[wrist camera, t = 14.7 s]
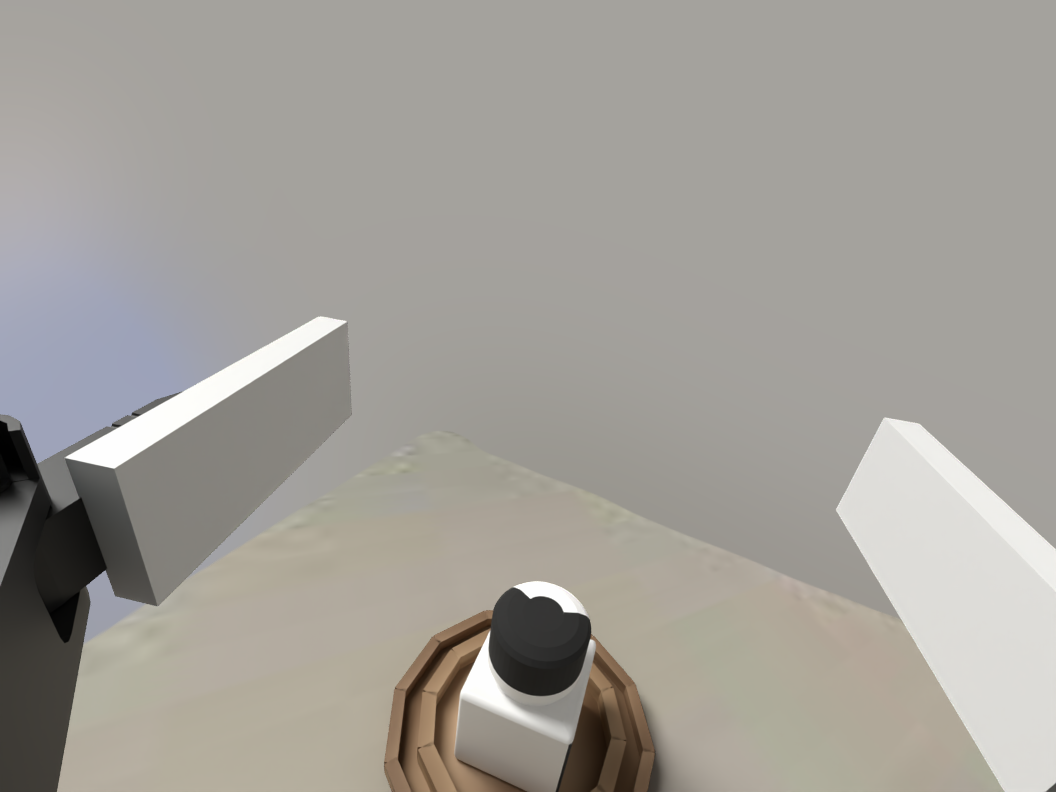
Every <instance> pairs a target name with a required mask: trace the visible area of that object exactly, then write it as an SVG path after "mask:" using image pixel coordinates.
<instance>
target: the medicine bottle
mask: <svg viewBox="0 0 1056 792" xmlns="http://www.w3.org/2000/svg"><path fill="white" fill-rule="evenodd" d="M590 638H591V624H590V619H589V617H588V614H587V612H586V610H585V608H584V607H583V605H582V604H581V603H580V602H579V601H578V600H577V598H576V597H574V596H573V595H572V594H571V593H570V592H568V591H567V590H565V589H563V588H561V587H559V586H557V585H554V584H551V583H547V582H527V583H523V584H520V585H517V586H515V587H513V588H511V589H509V590H508V591H506V592H505V593H504V594H503V595H502V596H501V597H500V598H499V600H498V601H497V603H496V605H495V607H494V610H493V615H492V622H491V629H490V632H489V634H488V636H487V638H486V640H485V642H484V644H483V646H482V648H481V650H480V652H479V655H478V657H477V659H476V661H475V663H474V665H473V667H472V669H471V671H470V673H469V675H468V677H467V680H466V682H465V684H464V686H463V688H462V690H461V692H460V700H459V710H458V720H457V730H456V740H455V750H454V754H455V757H456V758H457V759H458V760H460V761H463V762H465V763H467V764H469V765H471V766H473V767H475V768H478V769H480V770H482V771H484V772H486V773H488V774H490V775H493V776H495V777H497V778H499V779H501V780H503V781H506V782H508V783H510V784H512V785H514V786H516V787H518V788H521V789H523V790H525V791H527V792H559V788H560V785H561V781H562V778H563V775H564V771H565V768H566V764H567V761H568V757H569V754H570V750H571V747H572V744H573V740H574V736H575V732H576V728H577V724H578V720H579V716H580V712H581V707H582V703H583V699H584V695H585V691H586V687H587V683H588V679H589V675H590V671H591V667H592V663H593V658H594V654H595V650H596V643H595V641H593V640H591V639H590Z"/></svg>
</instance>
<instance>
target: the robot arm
mask: <svg viewBox="0 0 1056 792" xmlns="http://www.w3.org/2000/svg"><path fill="white" fill-rule="evenodd" d="M347 324H348V323H347V321H342V320H337V319H331V318H326V317H320V316H319V317H317V318H315V319H314V320H312V321H310V322H308V323H306V324H304V325H303V326H301V327H299V328H297V329H295V330H294V331H292V332H290V333H288V334H287V335H285V336H283V337H281V338H279V339H277V340H276V341H274V342H272V343H270V344H269V345H267V346H265V347H263V348H261V349H260V350H258V351H256V352H254V353H252V354H251V355H249V356H247V357H245V358H243V359H241V360H240V361H238V362H236V363H234V364H233V365H231V366H229V367H227V368H225V369H223V370H222V371H220V372H218V373H216V374H214V375H213V376H211V377H209V378H207V379H205V380H204V381H202V382H200V383H198V384H197V385H195V386H193V387H191V388H189V389H187V390H186V391H183V392H179V393H176V394H173V395H170V396H167V397H163V398H160V399H157V400H155V401H153V402H151V403H149V404H148V405H146V406H144V407H142V408H140V409H138V410H136V411H134V412H133V413H132V415H131V416H128V415H127V416H125V417H123V418H121V419H120V420H118V421H116V422H114V423H113V424H112V426H111V427H105V428H103V429H101V430H99V431H97V432H96V433H94V434H92V435H90V436H88V437H86V438H84V439H83V440H81V441H79V442H77V443H75V444H73V445H71V446H70V447H68V448H66V449H64V450H63V451H60V452H58V453H57V454H55V455H53V456H51V457H50V458H47V459H45V460H44V461H42V462H40V463H38V464H37V463H36V460H35V458H34V456H33V453H32V451H31V448H30V445H29V443H28V440H27V438H26V436H25V433H24V430H23V428H22V425H21V423H20V421H18V420H17V419H14V418H13V417H11V416H8V415H0V792H57V788H58V782H59V776H60V771H61V765H62V760H63V754H64V748H65V743H66V737H67V732H68V726H69V720H70V715H71V709H72V703H73V698H74V692H75V687H76V681H77V675H78V670H79V664H80V659H81V653H82V647H83V642H84V636H85V630H86V625H87V619H88V614H89V608H90V598H89V592H88V590H87V587H86V585H87V584H89V583H90V582H91V581H92V580H94V579H95V578H96V577H97V576H98V575H100V574H101V573H102V572H103V571H105V570H106V572H107V575H108V578H109V580H110V583H111V585H112V589H113V591H114V594H115V596H117V597H121V598H126V599H130V600H134V601H138V602H142V603H146V604H150V605H154V606H159V605H160V604H161V603H162V602H163V601H164V600H165V599H166V598H167V597H168V596H169V595H170V594H171V593H172V592H173V591H174V590H175V589H176V588H177V587H178V586H179V585H180V584H181V583H182V582H183V581H184V580H185V579H186V578H187V577H188V576H189V575H190V574H191V573H192V572H193V571H194V570H195V569H196V568H197V567H198V566H199V565H200V564H201V563H202V562H203V561H204V560H205V559H206V558H207V557H208V556H209V555H210V554H211V553H212V552H213V551H214V550H215V549H216V548H217V547H218V546H219V545H220V544H221V543H222V542H223V541H224V540H225V539H226V538H227V537H228V536H229V535H230V534H231V533H232V532H233V531H234V530H236V529H237V527H239V526H240V524H242V523H243V522H244V521H245V520H246V519H247V518H248V516H250V515H251V514H252V513H253V512H254V511H255V509H257V508H258V507H259V506H260V505H261V504H262V503H263V502H264V501H265V500H266V499H267V498H268V497H269V496H270V495H271V494H272V493H273V492H274V491H275V490H276V489H277V488H278V487H279V486H280V485H281V484H282V483H283V482H284V481H285V480H286V479H287V478H288V477H289V476H290V475H291V474H292V473H293V472H294V471H295V470H296V469H297V468H298V467H299V466H300V465H301V464H302V463H303V462H304V461H305V460H306V459H307V458H308V457H309V456H310V455H311V454H312V453H313V452H314V451H315V450H316V449H317V448H319V446H321V445H322V443H324V442H325V441H326V440H327V439H328V438H329V436H331V434H332V433H334V431H336V429H338V428H339V427H340V426H341V425H342V424H343V423H344V422H345V421H346V420H347V419H348V418H349V417H350V416H351V415H352V411H351V389H350V366H349V346H348V325H347ZM836 511H837V512H838V514H839V516H840V518H841V519H842V521H843V523H844V524H845V526H846V528H847V529H848V531H849V532H850V534H851V536H852V538H853V539H854V541H855V543H856V544H857V546H858V547H859V549H860V551H861V553H862V554H863V556H864V557H865V559H866V561H867V563H868V564H869V566H870V568H871V569H872V571H873V573H874V574H875V576H876V578H877V579H878V581H879V583H880V584H881V586H882V588H883V589H884V591H885V593H886V594H887V596H888V597H889V599H890V601H891V603H892V604H893V606H894V608H895V609H896V611H897V613H898V614H899V616H900V618H901V619H902V621H903V623H904V625H905V626H906V628H907V630H908V631H909V633H910V635H911V636H912V638H913V640H914V641H915V643H916V645H917V646H918V648H919V650H920V651H921V653H922V655H923V656H924V658H925V660H926V661H927V663H928V665H929V666H930V668H931V670H932V671H933V673H934V675H935V676H936V678H937V680H938V681H939V683H940V685H941V686H942V688H943V690H944V691H945V693H946V695H947V696H948V698H949V700H950V701H951V703H952V705H953V706H954V708H955V710H956V711H957V713H958V715H959V716H960V718H961V720H962V721H963V723H964V725H965V726H966V728H967V730H968V731H969V733H970V735H971V737H972V738H973V740H974V742H975V743H976V745H977V747H978V748H979V750H980V752H981V753H982V755H983V757H984V758H985V760H986V762H987V763H988V765H989V767H990V768H991V770H992V772H993V773H994V775H995V777H996V778H997V780H998V782H999V783H1000V785H1001V787H1002V788H1003V790H1004V792H1056V549H1055V548H1054V547H1053V546H1051V545H1050V544H1049V543H1048V542H1047V541H1046V540H1045V539H1044V538H1043V537H1042V536H1041V535H1039V534H1038V533H1037V532H1036V531H1035V530H1034V529H1033V528H1032V527H1031V526H1029V524H1028V523H1027V522H1025V521H1024V520H1023V519H1022V518H1021V517H1020V516H1019V515H1018V514H1017V513H1016V512H1014V511H1013V510H1012V509H1011V508H1010V507H1009V506H1008V505H1007V504H1006V503H1005V502H1004V501H1003V500H1001V499H1000V498H999V497H998V496H997V495H996V494H995V493H994V492H993V491H992V490H991V489H990V488H988V487H987V486H986V485H985V484H984V483H983V482H982V481H981V480H980V479H979V478H978V477H976V476H975V475H974V474H973V473H972V472H971V471H970V470H969V469H968V468H966V467H965V466H964V465H963V464H962V463H961V462H960V461H959V460H958V459H957V458H956V457H955V456H954V455H952V454H951V453H950V452H949V451H948V450H947V449H946V448H945V447H944V446H943V445H942V444H940V443H939V442H938V441H937V440H936V439H935V438H934V437H933V436H932V435H931V434H930V433H929V432H927V431H926V430H925V429H924V428H923V427H922V426H921V425H920V424H917V423H912V422H906V421H901V420H896V419H890V418H884V419H883V421H882V423H881V425H880V427H879V429H878V430H877V432H876V434H875V436H874V438H873V440H872V442H871V444H870V446H869V448H868V450H867V451H866V453H865V455H864V457H863V459H862V461H861V463H860V465H859V467H858V469H857V471H856V473H855V474H854V476H853V478H852V480H851V482H850V484H849V486H848V488H847V490H846V492H845V494H844V496H843V498H842V499H841V501H840V503H839V505H838V507H837V509H836Z"/></svg>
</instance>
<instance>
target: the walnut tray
mask: <svg viewBox="0 0 1056 792" xmlns="http://www.w3.org/2000/svg"><path fill="white" fill-rule="evenodd" d="M492 615H493V610H486V611H483V612H481V613H479V614H477V615H475V616H473V617H471V618H469V619H467V620H464V621H462V622H460V623H458V624H456V625H454V626H452V627H450V628H448V629H446V630H444V631H442V632H440V633H438V634H436V635H434V637H432V638H431V639H430V641H429V642H428V644H427V645H426V646H425V648H424V649H423V650H422V652H421V653H420V654H419V656H418V657H417V658H416V660H415V661H414V663H413V664H412V665H411V667H410V668H409V669H408V671H407V672H406V673H405V675H404V676H403V678H402V679H401V680H400V682H399V683H398V684H397V686H396V687H395V690H394V697H393V704H392V711H391V718H390V725H389V732H388V739H387V746H386V753H385V761H384V771H385V775H386V777H387V780H388V782H389V785H390V787H391V790H392V792H527V791H525V790H523V789H521V788H518V787H516V786H514V785H512V784H510V783H508V782H506V781H503V780H501V779H499V778H497V777H495V776H493V775H490V774H488V773H486V772H484V771H482V770H480V769H478V768H475V767H473V766H471V765H469V764H467V763H465V762H463V761H460V760H458V759H457V758H456V757H455V754H454V750H455V740H456V730H457V720H458V710H459V700H460V692H461V690H462V688H463V686H464V684H465V682H466V680H467V677H468V675H469V673H470V671H471V669H472V667H473V665H474V663H475V661H476V659H477V657H478V655H479V652H480V650H481V648H482V646H483V644H484V642H485V640H486V638H487V636H488V634H489V632H490V629H491V622H492ZM592 636H593V635H592V634H591V638H590V639H591V640H593V641H595V643H596V650H595V654H594V658H593V663H592V667H591V671H590V675H589V679H588V683H587V687H586V691H585V695H584V699H583V703H582V707H581V712H580V716H579V720H578V724H577V728H576V732H575V736H574V740H573V744H572V747H571V750H570V754H569V757H568V761H567V764H566V768H565V771H564V775H563V778H562V781H561V785H560V788H559V792H647V791H648V786H649V781H650V776H651V771H652V766H653V761H654V757H655V750H654V746H653V743H652V739H651V736H650V732H649V729H648V726H647V722H646V719H645V715H644V712H643V708H642V705H641V702H640V698H639V695H638V691H637V688H636V684H634V682H633V680H632V679H631V678H630V677H629V676H628V675H627V673H626V672H625V671H624V670H623V669H622V668H621V667H620V665H619V664H618V663H617V662H616V661H615V660H614V658H613V657H612V656H611V655H610V654H609V653H608V652H607V650H606V649H605V648H604V647H603V646H602V645H601V643H600V642H599V641H598V640H597V639H596V638H595V637H594V636H593V637H592Z"/></svg>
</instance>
